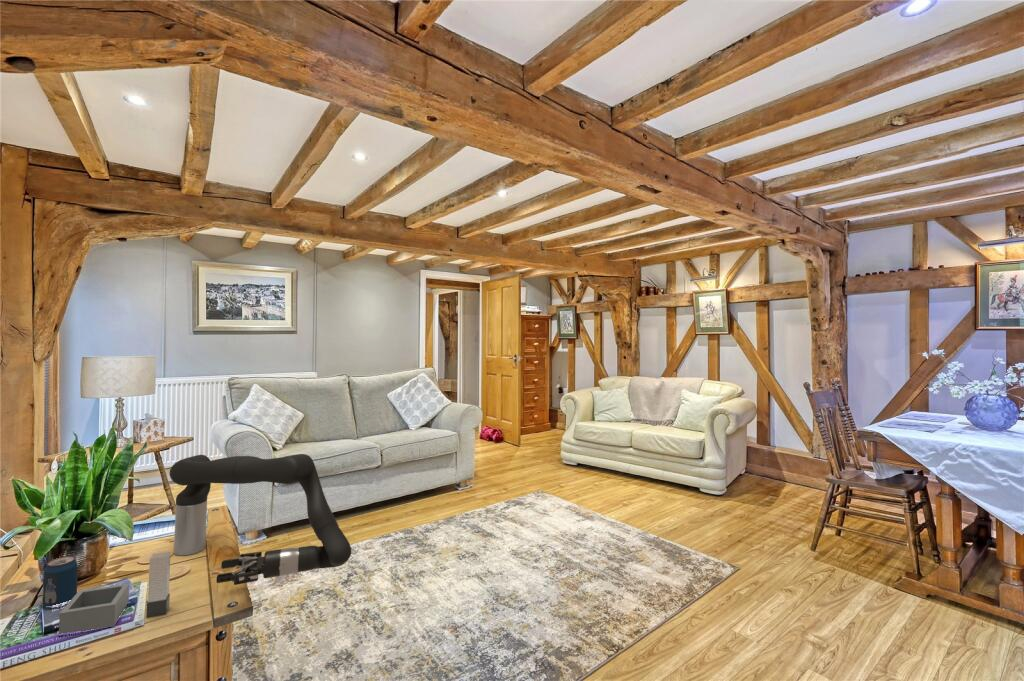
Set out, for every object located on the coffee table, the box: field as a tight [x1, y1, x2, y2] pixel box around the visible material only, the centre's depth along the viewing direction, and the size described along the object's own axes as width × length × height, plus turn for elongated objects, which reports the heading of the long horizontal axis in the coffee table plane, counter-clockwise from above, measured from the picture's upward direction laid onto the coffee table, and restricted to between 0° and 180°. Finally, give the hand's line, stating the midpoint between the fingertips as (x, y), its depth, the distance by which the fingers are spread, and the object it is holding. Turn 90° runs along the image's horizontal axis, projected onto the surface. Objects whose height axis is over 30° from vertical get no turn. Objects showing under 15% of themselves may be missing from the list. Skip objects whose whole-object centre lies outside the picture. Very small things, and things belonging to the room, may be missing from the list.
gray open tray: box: [58, 583, 130, 635], centre depth 122 cm, size 11×11×6 cm
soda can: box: [41, 555, 79, 607], centre depth 129 cm, size 7×7×12 cm
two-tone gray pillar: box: [145, 551, 171, 619], centre depth 126 cm, size 3×4×16 cm
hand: (219, 571), depth 132 cm, fingers open, 8 cm apart
